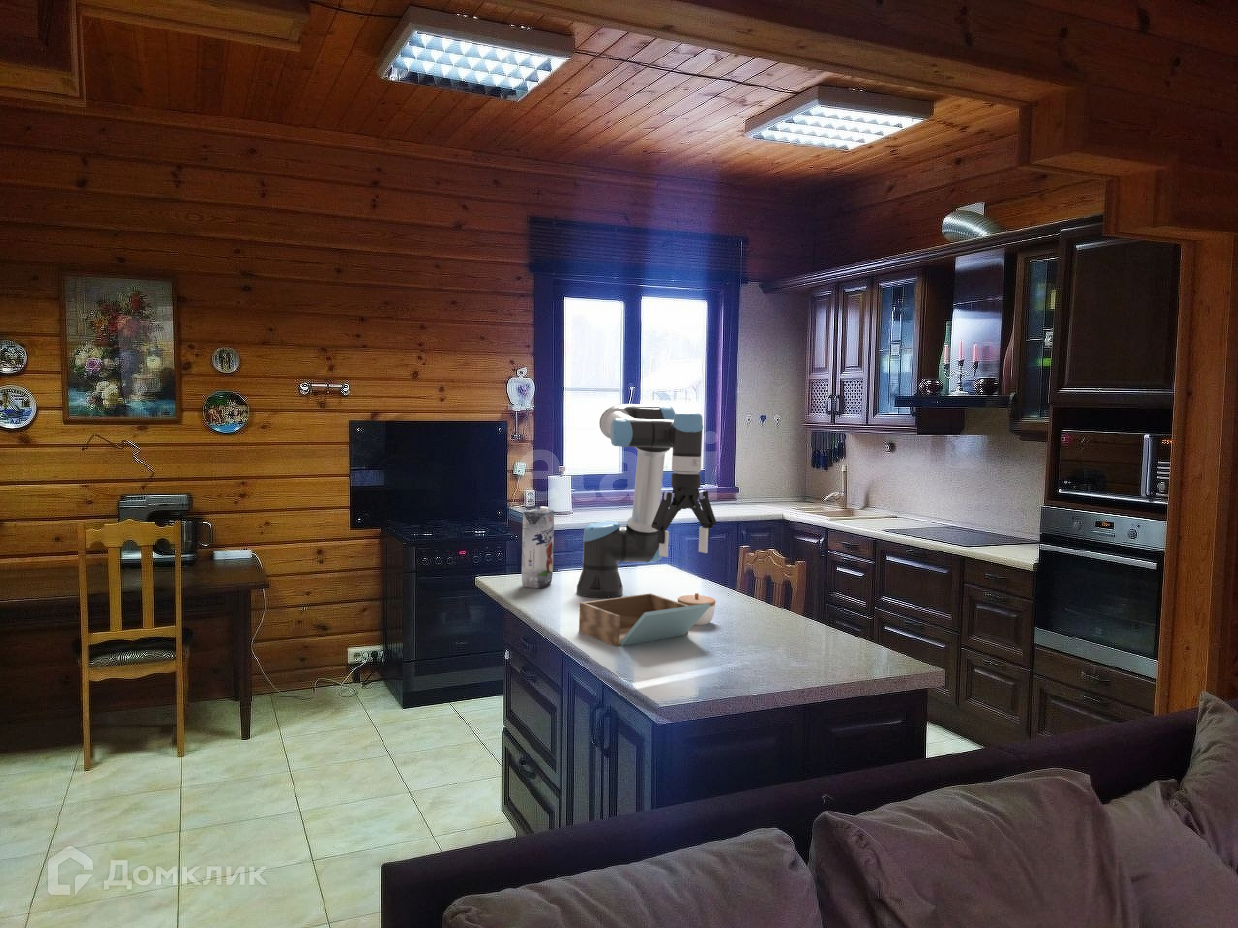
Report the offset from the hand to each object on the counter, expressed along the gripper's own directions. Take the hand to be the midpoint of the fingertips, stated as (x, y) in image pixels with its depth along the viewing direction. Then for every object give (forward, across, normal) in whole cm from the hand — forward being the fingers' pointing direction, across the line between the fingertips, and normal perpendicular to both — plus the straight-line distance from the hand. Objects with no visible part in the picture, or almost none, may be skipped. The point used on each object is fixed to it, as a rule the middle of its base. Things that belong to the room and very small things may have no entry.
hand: (683, 554), depth 233 cm
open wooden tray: (+24, -5, +14) cm, 28 cm away
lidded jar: (+24, +18, +14) cm, 33 cm away
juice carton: (+24, +7, +82) cm, 86 cm away
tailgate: (+23, -5, +6) cm, 24 cm away
